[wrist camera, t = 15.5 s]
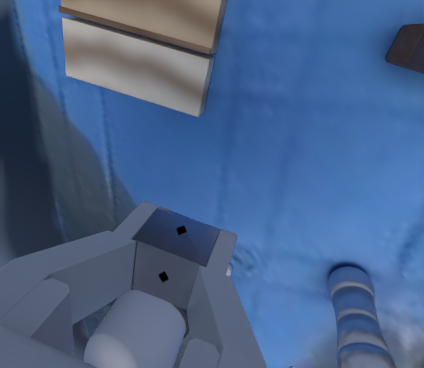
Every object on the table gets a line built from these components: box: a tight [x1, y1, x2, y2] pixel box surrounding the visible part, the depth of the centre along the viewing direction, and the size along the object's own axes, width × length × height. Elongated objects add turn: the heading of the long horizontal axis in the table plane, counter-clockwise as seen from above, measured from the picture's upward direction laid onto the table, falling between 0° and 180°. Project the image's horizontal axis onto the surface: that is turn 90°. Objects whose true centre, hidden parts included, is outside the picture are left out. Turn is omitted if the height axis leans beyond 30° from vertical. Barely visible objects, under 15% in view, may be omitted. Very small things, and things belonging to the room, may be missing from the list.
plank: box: [62, 17, 214, 117], centre depth 37 cm, size 7×20×2 cm, turn 77°
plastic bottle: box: [328, 266, 397, 368], centre depth 37 cm, size 6×7×20 cm
